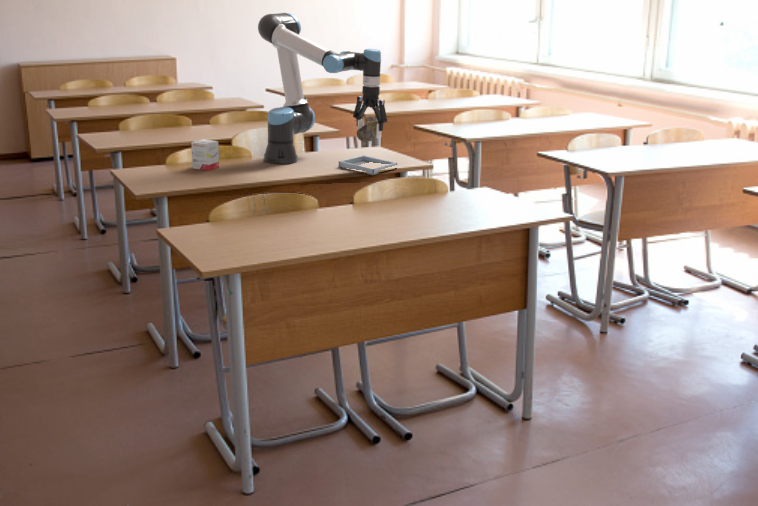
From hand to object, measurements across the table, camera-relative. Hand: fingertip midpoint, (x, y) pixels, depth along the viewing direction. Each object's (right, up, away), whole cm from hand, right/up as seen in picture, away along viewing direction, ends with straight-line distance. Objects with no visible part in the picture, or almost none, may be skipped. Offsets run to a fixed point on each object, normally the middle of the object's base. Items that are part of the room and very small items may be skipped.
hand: (369, 136), depth 372 cm
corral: (-1, -14, +5) cm, 15 cm away
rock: (0, -3, +1) cm, 3 cm away
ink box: (-71, -15, -7) cm, 73 cm away
